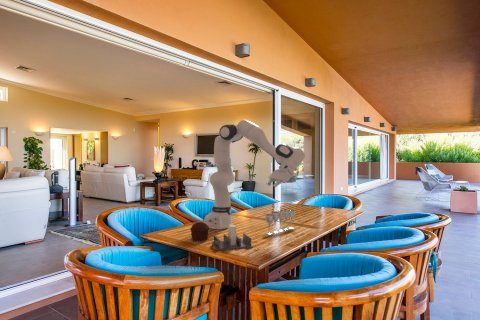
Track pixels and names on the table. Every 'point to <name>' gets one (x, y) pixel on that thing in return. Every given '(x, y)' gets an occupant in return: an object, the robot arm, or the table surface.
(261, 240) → the table surface
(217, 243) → the dish rack
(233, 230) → the tall cream block
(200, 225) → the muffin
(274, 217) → the goblet set
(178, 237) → the table surface
